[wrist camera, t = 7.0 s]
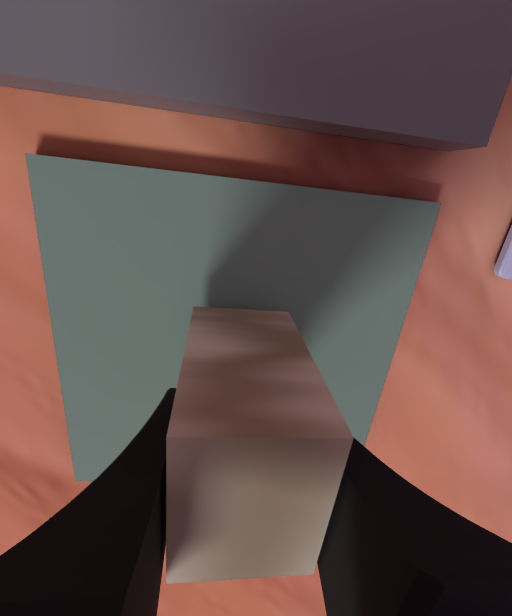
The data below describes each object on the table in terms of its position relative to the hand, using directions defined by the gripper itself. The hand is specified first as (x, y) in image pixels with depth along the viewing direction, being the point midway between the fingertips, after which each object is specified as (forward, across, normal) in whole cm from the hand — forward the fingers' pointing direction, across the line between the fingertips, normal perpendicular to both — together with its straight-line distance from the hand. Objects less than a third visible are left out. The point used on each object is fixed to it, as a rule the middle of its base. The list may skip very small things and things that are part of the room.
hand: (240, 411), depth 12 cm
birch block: (+3, 0, 0) cm, 3 cm away
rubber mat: (+4, 0, 0) cm, 4 cm away
